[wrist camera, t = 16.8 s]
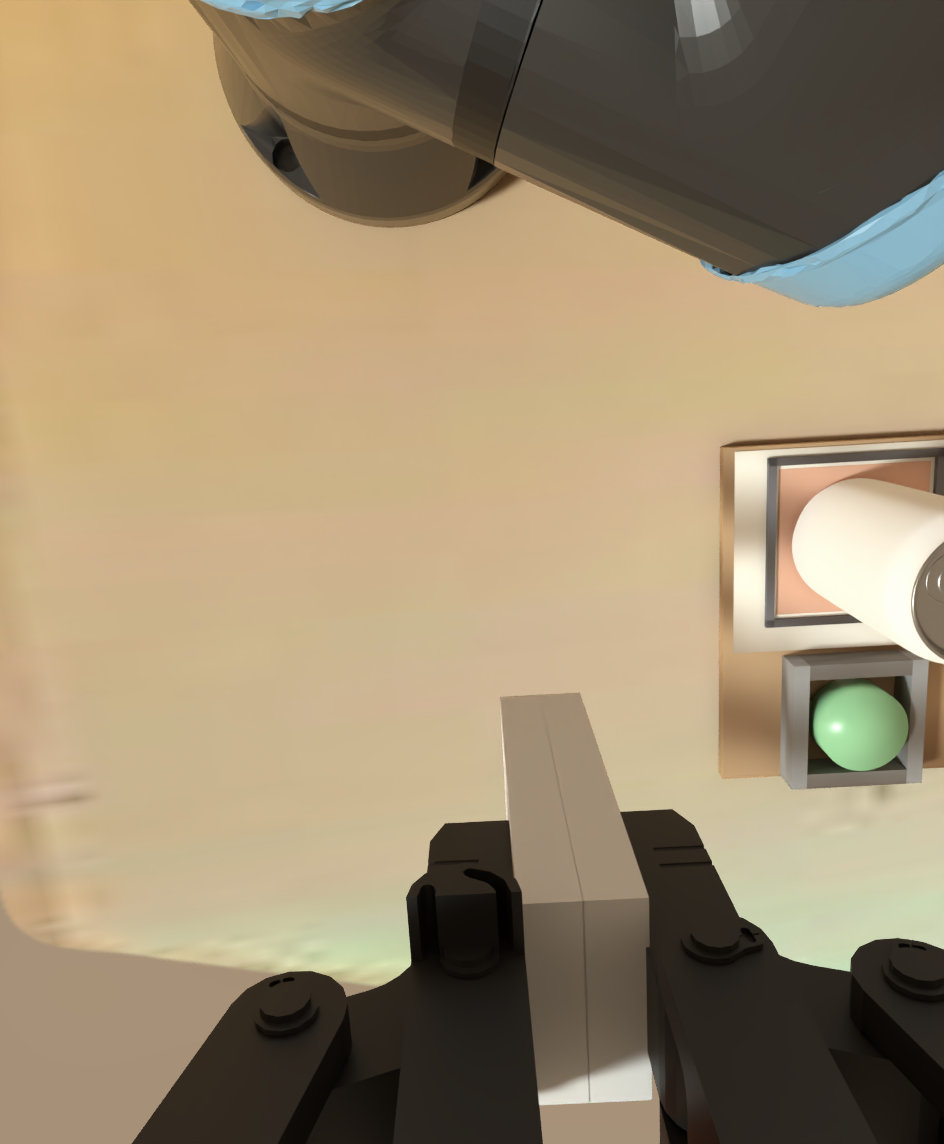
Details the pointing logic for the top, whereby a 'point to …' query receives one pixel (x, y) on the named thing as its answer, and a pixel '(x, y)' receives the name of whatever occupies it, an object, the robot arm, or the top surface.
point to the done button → (857, 724)
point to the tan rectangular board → (809, 616)
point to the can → (878, 559)
